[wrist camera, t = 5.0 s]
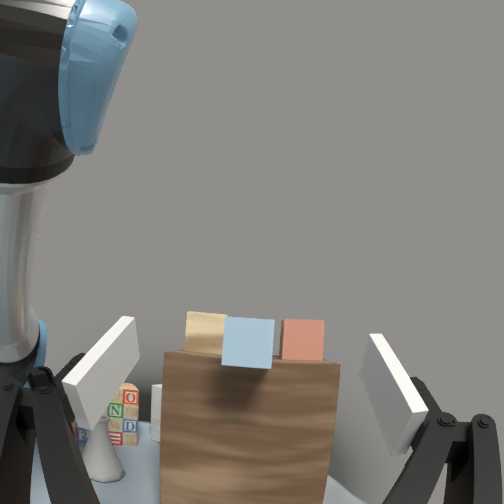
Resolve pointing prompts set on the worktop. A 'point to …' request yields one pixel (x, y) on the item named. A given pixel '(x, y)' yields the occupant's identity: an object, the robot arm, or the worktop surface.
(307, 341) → the brick cube
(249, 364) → the blue bar
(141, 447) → the worktop surface
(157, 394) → the supplement box
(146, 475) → the worktop surface
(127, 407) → the stack of blocks
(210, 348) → the oak cube
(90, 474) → the flask
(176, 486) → the walnut stand
